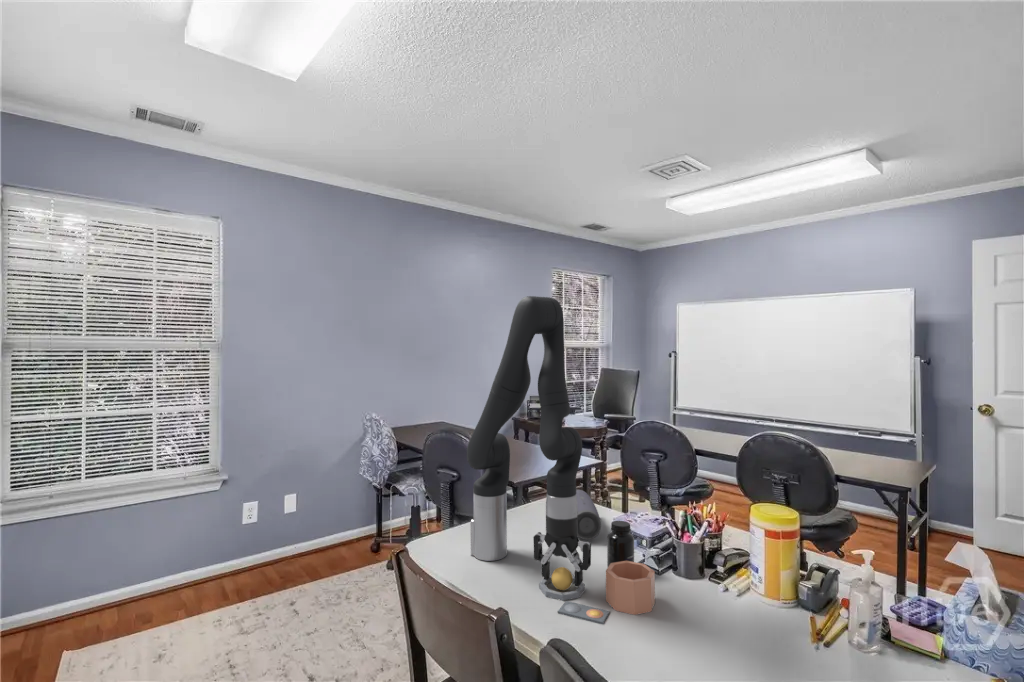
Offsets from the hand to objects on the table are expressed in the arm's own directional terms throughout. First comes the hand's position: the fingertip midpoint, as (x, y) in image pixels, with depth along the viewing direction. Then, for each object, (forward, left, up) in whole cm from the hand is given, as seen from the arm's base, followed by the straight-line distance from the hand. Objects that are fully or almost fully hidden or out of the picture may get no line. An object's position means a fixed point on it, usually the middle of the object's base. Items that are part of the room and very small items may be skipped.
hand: (562, 581), depth 120 cm
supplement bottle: (+10, +16, -2) cm, 19 cm away
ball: (0, 0, +1) cm, 1 cm away
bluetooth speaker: (-8, +39, -2) cm, 40 cm away
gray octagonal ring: (0, 0, -2) cm, 2 cm away
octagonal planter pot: (+16, +1, -2) cm, 16 cm away
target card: (+8, -8, -2) cm, 11 cm away
